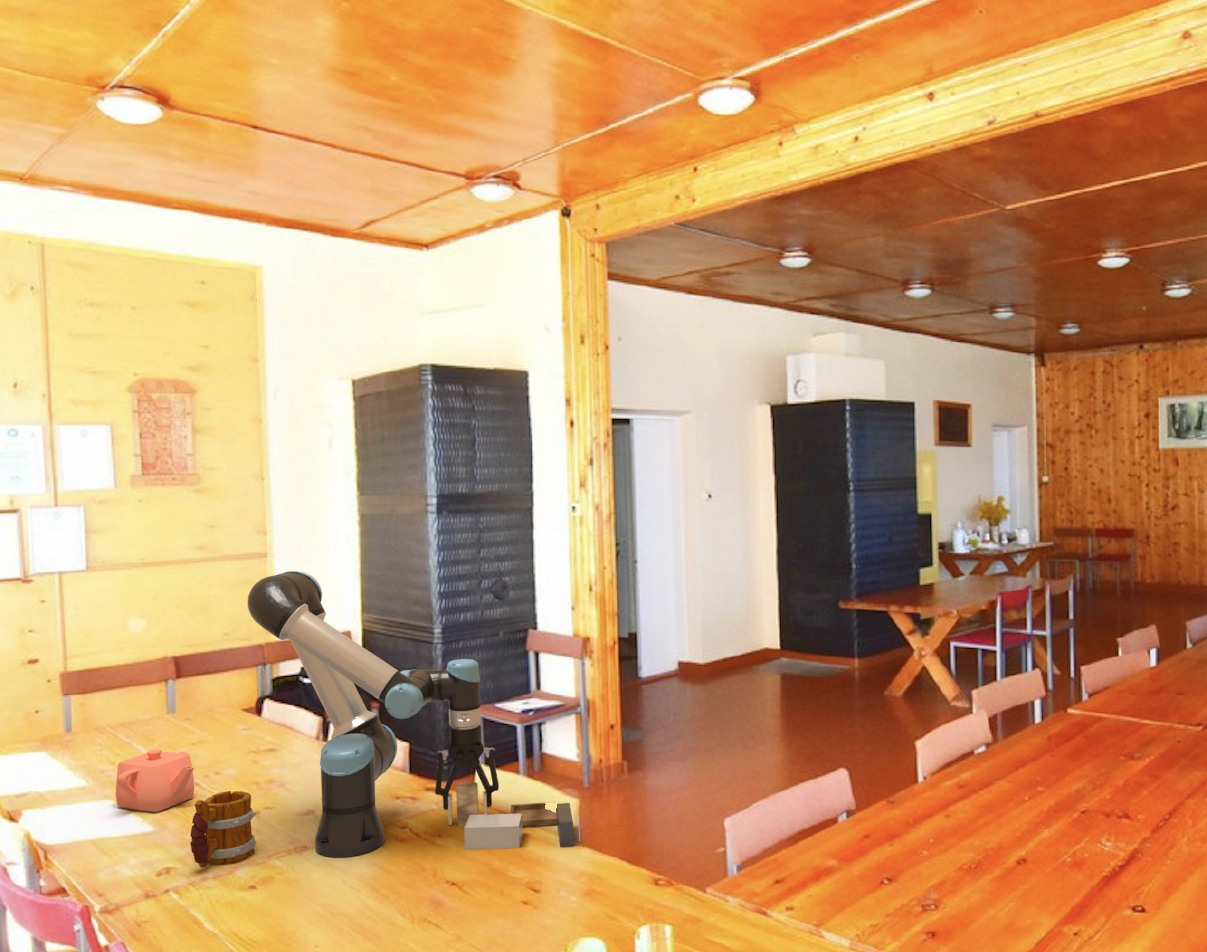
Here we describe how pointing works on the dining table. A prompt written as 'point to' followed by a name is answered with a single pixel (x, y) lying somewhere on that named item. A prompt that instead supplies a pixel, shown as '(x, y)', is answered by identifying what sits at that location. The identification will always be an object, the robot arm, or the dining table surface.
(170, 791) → the teapot
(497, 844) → the slab
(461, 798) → the roller
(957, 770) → the dining table surface
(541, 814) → the tray
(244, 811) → the mug
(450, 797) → the robot arm
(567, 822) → the block
